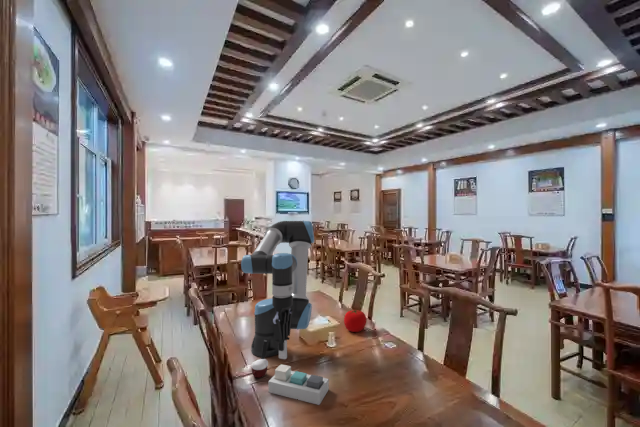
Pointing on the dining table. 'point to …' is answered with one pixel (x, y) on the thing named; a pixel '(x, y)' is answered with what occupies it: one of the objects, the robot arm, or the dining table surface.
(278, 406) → the dining table surface
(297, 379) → the teal key
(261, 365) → the cocoa
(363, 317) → the red apple
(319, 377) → the charcoal key
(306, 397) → the console
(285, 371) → the ivory key
